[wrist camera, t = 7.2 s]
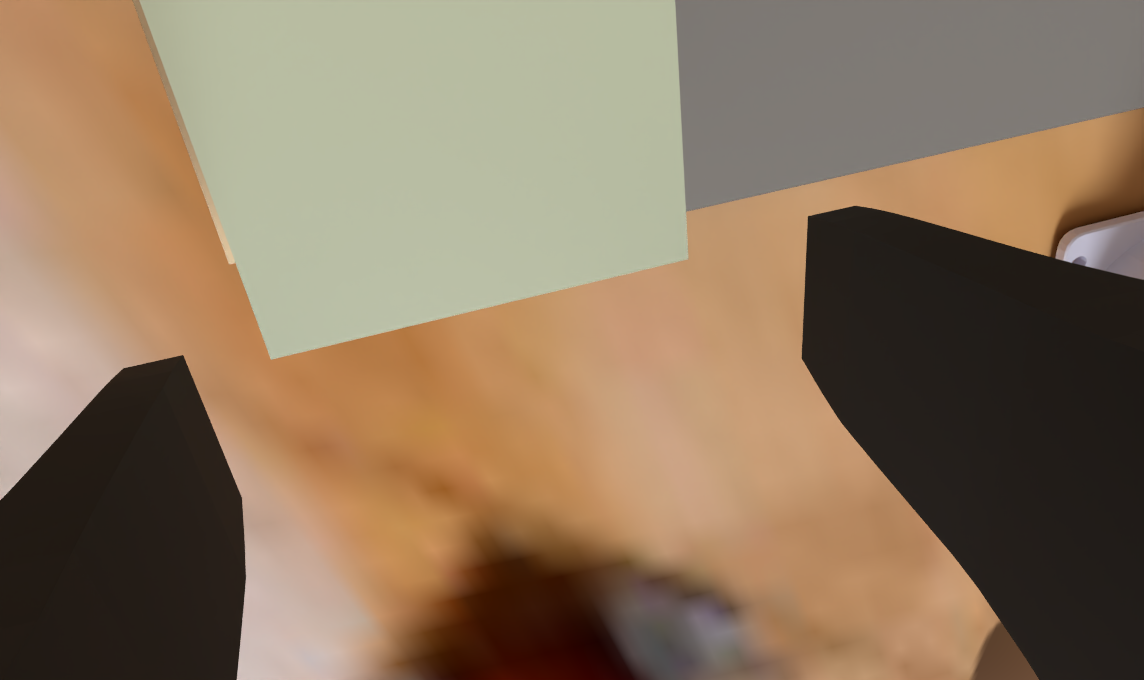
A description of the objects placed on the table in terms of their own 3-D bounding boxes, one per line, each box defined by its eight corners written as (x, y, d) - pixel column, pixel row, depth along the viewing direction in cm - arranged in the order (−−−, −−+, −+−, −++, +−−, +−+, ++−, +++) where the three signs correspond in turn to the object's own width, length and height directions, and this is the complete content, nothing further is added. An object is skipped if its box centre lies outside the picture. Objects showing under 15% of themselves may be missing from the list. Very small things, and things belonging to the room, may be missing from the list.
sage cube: (577, 127, 15) (688, 259, 11) (274, 191, 14) (271, 359, 10) (536, -225, 12) (663, -223, 8) (157, -169, 12) (88, -137, 7)
